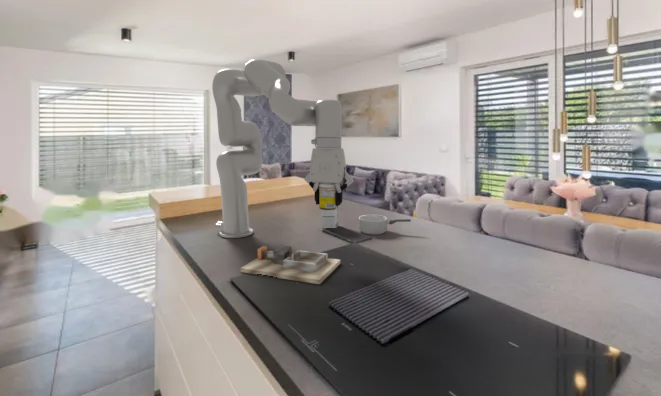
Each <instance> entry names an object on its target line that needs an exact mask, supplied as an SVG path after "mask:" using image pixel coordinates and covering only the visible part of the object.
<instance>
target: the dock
mask: <svg viewBox="0 0 661 396" xmlns="http://www.w3.org/2000/svg"><path fill="white" fill-rule="evenodd" d="M272 251H273V260H272V259H262V260H258V257H257V258H255V259H253V260H251V261H250V262H248V263H247V264H245V265H243V266H241V267H240V273H245V274H251V275H257V274H262V275H261V276H263V275H268V276H267V277H269V276H273V277H272V278H276V277H277V278H276V279H284V280H289V281H297V282H301V283H309V284H313V285H314V284H316V285H321V284H322V283H323V282H324V281H325V280H326V279H327V278H328V277H329V276H330V275H331V274H332V273H333V272H334V271H335V270H336V269H337V268H338V266H339V265H340V264H341V259H338V258H330V257H328V256H329V253H327V252H326V253H325V252H318V251H317V252H316V251H311V250H302V249H297V250H296V251H294V252H292V251H293V250H292V246H290V245H283V244H282V245H281V246H279V247H277V248H276V249H274V250H272ZM285 253H286V259H285Z"/></svg>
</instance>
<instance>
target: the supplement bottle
mask: <svg viewBox="0 0 661 396" xmlns="http://www.w3.org/2000/svg"><path fill="white" fill-rule="evenodd" d="M336 193H337V189H336V186H335V183H320V184H319V204H318V206H319V210H320V211H321V212H322V211H323V212H334V211H336V210H337V209H338V210H339V206H336V205H335V204H336Z"/></svg>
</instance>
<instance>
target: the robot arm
mask: <svg viewBox="0 0 661 396" xmlns="http://www.w3.org/2000/svg"><path fill="white" fill-rule="evenodd" d="M211 88H212V95H213V99H214V102H215V103H214V104H215V106H216V117H217V131H218V133H217V134H218V139H219V143H220V144H221V145H222V146H224V147H226V148H227V147H228V148H238V147H239V148H240V147H242V149H241V150H239V149H237V150H226V151H224V152H221V153H220V154H219V155H218V156H217V158H216V165H215V166H216V171H217V173H218V177H219V185H220V195H221V197H220V198H221V199H220V200H221V211H222V212H221V213H222V221H220V220H218V221H217V222H216V223H215V227H216V228H220V230H219V233H218V234H219V236H220V237H221V238H226V239H239V238H244V237H248V236H251V235H253V234H254V229H253V228H251V227H250V225H249V203H248V200H249V199H248V188H247V184H246V182H245V180H244V179H243V177H242V176H250V175H255V174H258V173H259V172H260V171H261V169H262V165H263V152H262V151H263V149H262V135H261V131H260V129H259V126H258V125H257V124H256V123H255V122H253V121H249V120H243V118H242V117H243V116H242V108H241V105H240V103H239V102H238V100H237V98H236V97H235V96H242V97H243V96H244V97H245V96H246V97H259V96H263V95H264V96H265V97H266V98H267V99H268V104H269V107H270V109H271V111H272V112H273V113H274V114H275V115H276V116H277V118H279V119H281V120H282V121H283V122H284V123H286V124H288V125H290V126H292V127H314V128H315V137H314V139H311V141H310V142H311V144H312V145H314V146H315V148H312V151H311V157H310V165H309V166H310V167H309V172H308V173H307V175H306V176H305V177H304V178H303V179H304V181H305V182H306V183H307V184H308V185H309V187H310V188H312V191H313V192H314V201H315V205H316V206H317V205H318V206H319V184H320V183H335V186H336V189H337V193H336V204H335V205H336V206H338V207H339V206H340V205H341V204H342V203H343V192H344V191H345V190H346V188H348V187H349V186H350V185H352V183H353V182H354V179H353V177H352V176H351V175H350V174H349V173H348V171H347V165H346V157H345V150H344V148H343V147H342V103H341V101H339V100H336V99H319V100H318V101H317V100H309V99H296V98H294V97H293V96H292V95H290V94H289V93H290V90H291V83H290V81H289V79H288V78H287V74H286V70H285V69H284V67H283V66H282V65H281V64H280V63H278V62H275V61H271V60H267V59H266V60H264V59H261V58H255V59H250V60H248V62H246V63H245V65H244V67H243V70H241V69H235V68H223V69H220V70H218V71H217V72H216V73H215V75H214V76H213V79H212V87H211ZM343 182H344V183H343Z"/></svg>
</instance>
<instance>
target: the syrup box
mask: <svg viewBox="0 0 661 396" xmlns="http://www.w3.org/2000/svg"><path fill="white" fill-rule="evenodd" d="M338 226H339V208H338V209H337V210H336V211H334V212H323V211H321V228H322V229H326V228H336V229H337V227H338Z"/></svg>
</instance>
